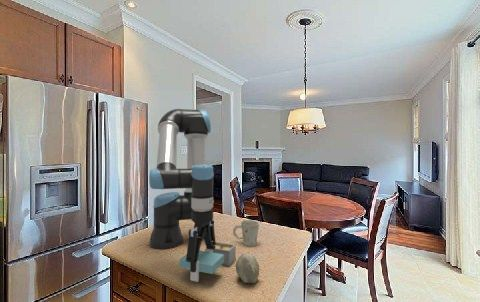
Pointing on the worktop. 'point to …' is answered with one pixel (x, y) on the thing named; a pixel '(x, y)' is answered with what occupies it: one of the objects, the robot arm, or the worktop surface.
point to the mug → (248, 232)
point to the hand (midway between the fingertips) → (202, 273)
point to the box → (226, 252)
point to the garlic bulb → (247, 268)
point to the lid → (205, 261)
